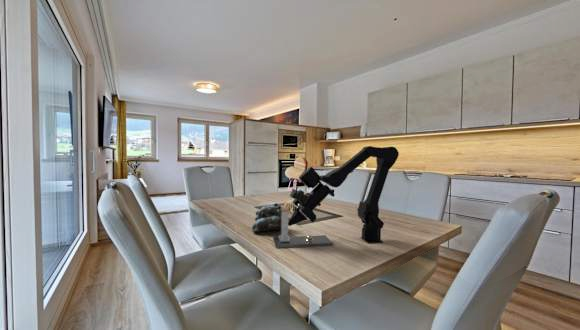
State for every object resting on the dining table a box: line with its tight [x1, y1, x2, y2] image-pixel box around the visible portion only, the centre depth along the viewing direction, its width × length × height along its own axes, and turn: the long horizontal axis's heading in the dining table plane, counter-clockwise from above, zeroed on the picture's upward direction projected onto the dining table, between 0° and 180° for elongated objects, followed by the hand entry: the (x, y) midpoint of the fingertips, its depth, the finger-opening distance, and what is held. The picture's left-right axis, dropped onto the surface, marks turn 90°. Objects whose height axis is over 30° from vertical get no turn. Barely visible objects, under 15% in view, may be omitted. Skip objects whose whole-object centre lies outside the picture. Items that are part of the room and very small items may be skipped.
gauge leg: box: [277, 207, 291, 242], centre depth 91 cm, size 4×4×12 cm
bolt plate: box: [272, 234, 334, 249], centre depth 93 cm, size 22×9×2 cm, turn 100°
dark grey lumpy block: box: [251, 203, 283, 234], centre depth 108 cm, size 15×12×14 cm
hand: (288, 224), depth 91 cm, fingers closed, pressing on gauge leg
